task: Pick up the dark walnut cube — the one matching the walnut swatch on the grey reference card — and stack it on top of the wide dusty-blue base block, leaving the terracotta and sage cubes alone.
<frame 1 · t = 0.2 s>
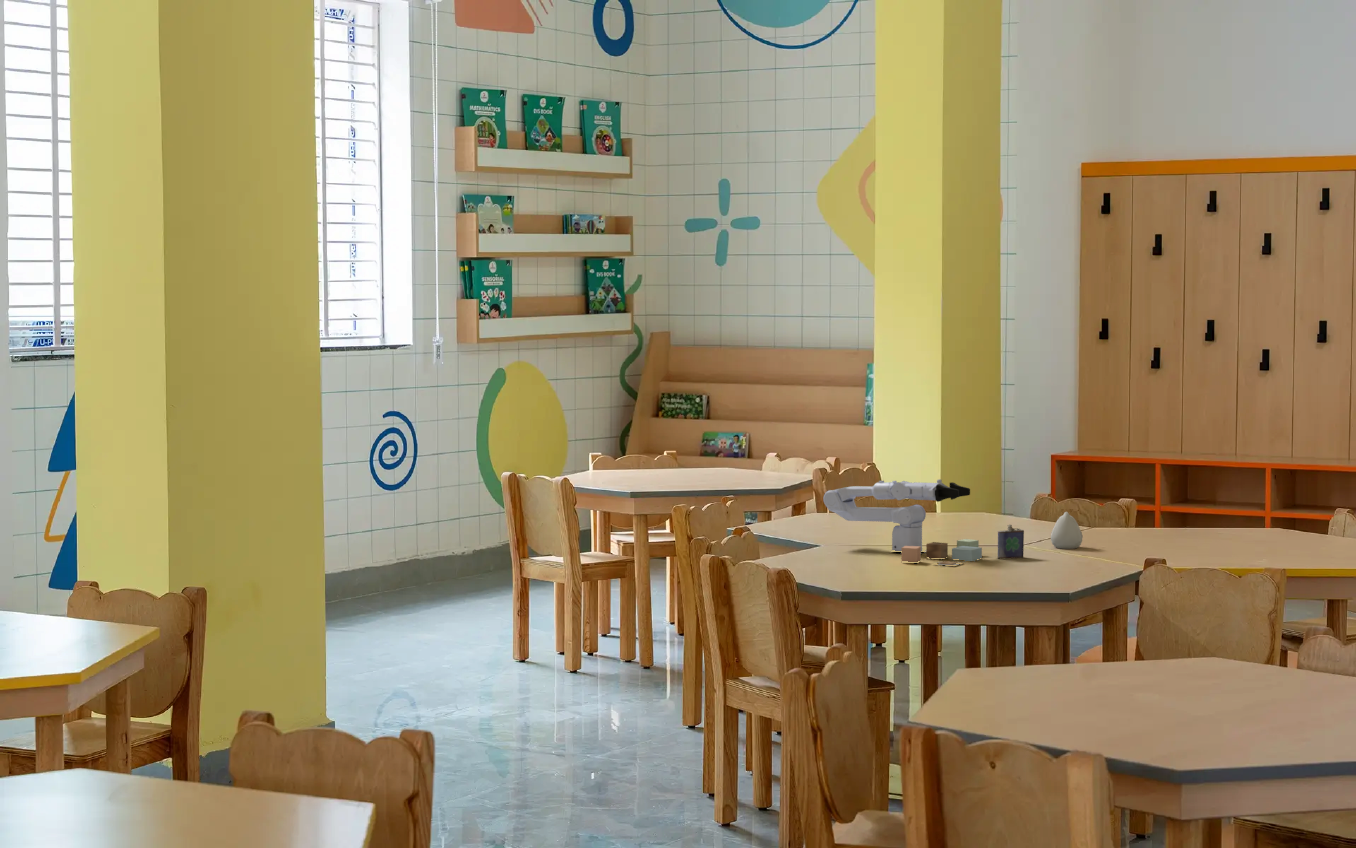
hand: (964, 492, 467), 21 cm above the table, tool horizontal, fingers open, 7 cm apart
walnut cube: (937, 558, 467), on the table
base block: (966, 560, 464), on the table
terracotta cube: (911, 562, 459), on the table
grey teardrop shape: (1066, 548, 488), on the table
sage cube: (967, 555, 473), on the table
reference card: (948, 564, 453), on the table
flask: (1010, 558, 466), on the table
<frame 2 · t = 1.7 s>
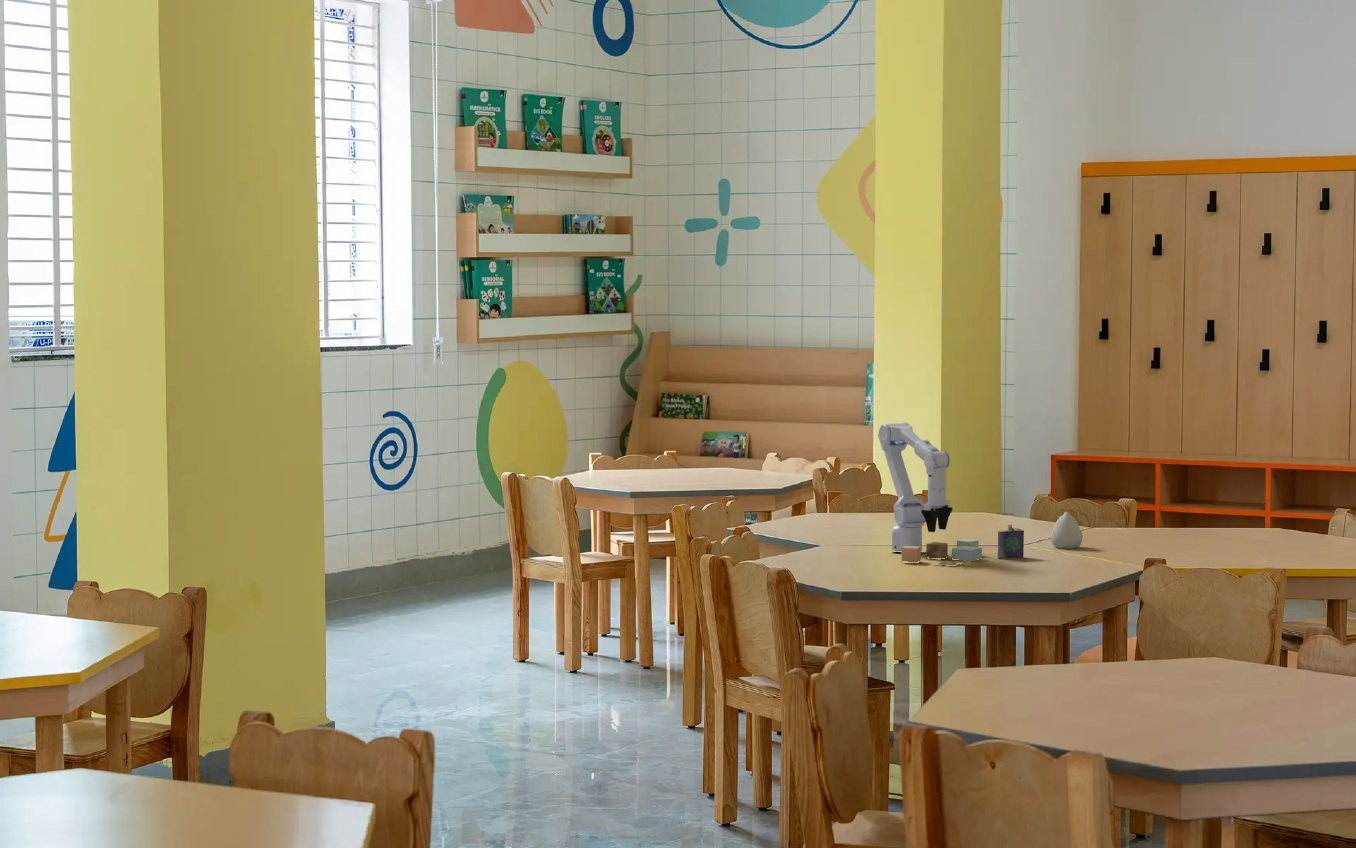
hand: (937, 530, 466), 9 cm above the table, tool pointing down, fingers open, 7 cm apart
nothing on the table moved.
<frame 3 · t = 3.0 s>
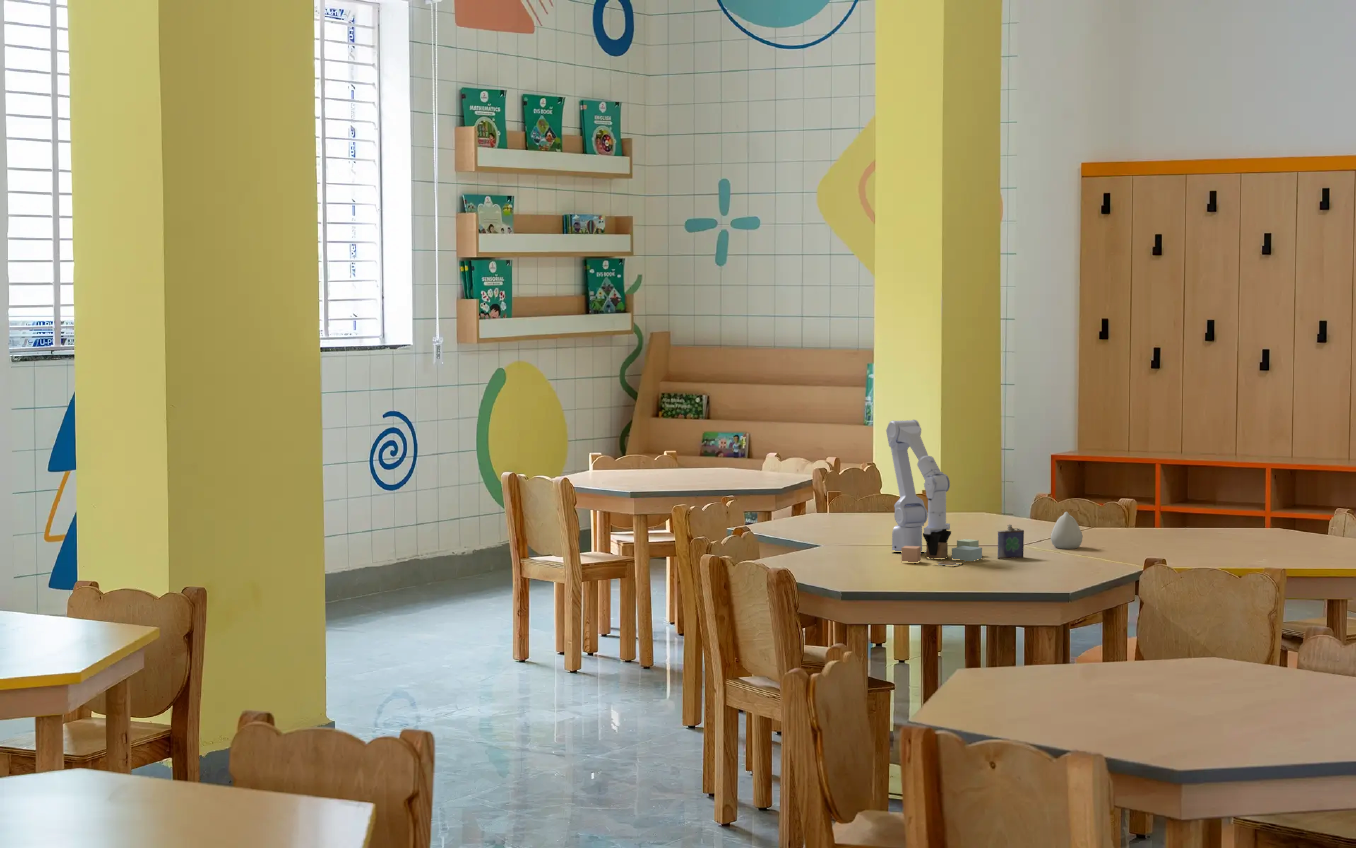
hand: (937, 554, 467), 1 cm above the table, tool pointing down, fingers closed on walnut cube, 5 cm apart
walnut cube: (937, 558, 467), on the table, touching gripper
everything else where it was.
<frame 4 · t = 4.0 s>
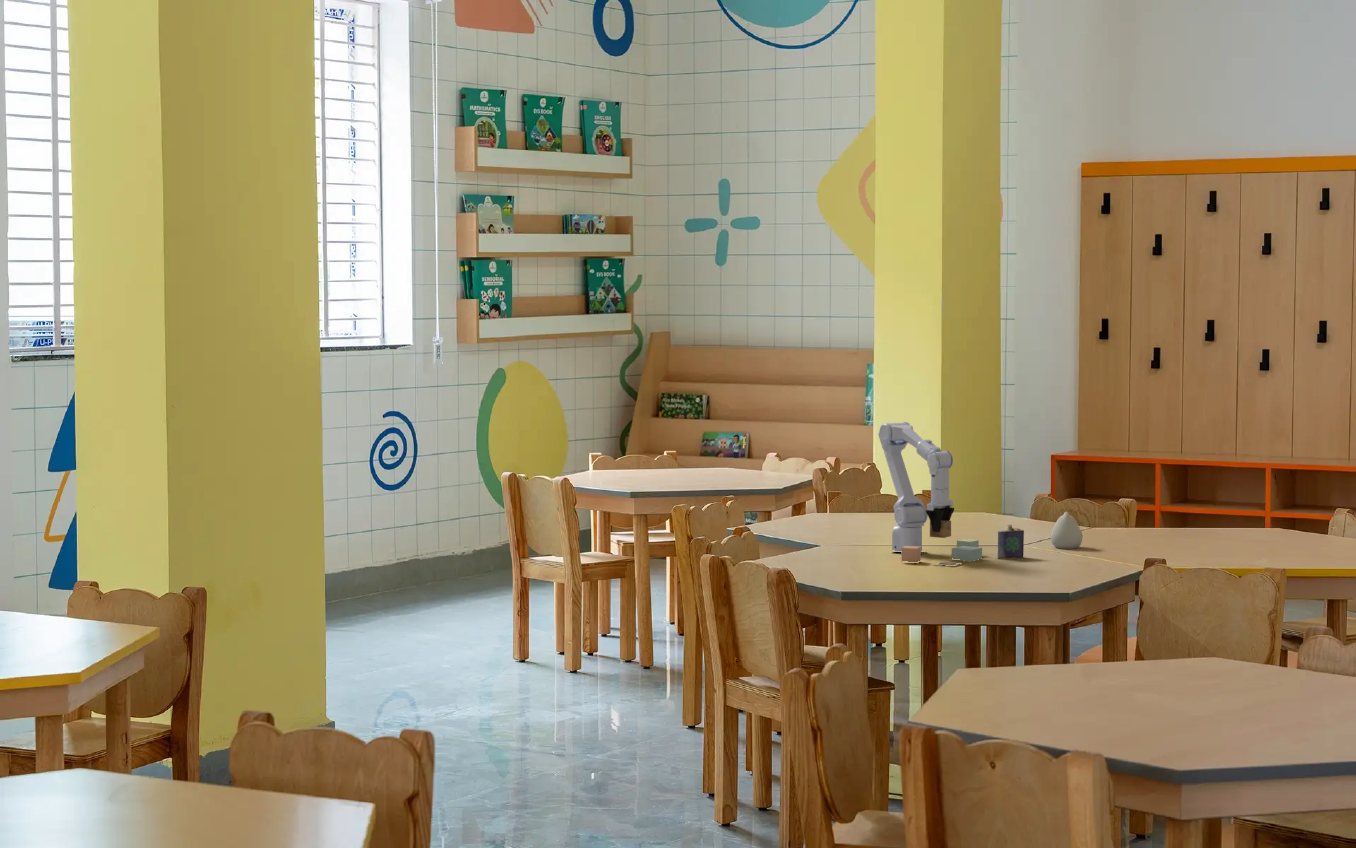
hand: (940, 530, 466), 9 cm above the table, tool pointing down, fingers closed on walnut cube, 5 cm apart
walnut cube: (940, 536, 466), point 7 cm above the table, touching gripper
everything else where it was.
when the fingers open (6 cm above the table, at t = 5.4 s): walnut cube stays where it is, resting on base block.
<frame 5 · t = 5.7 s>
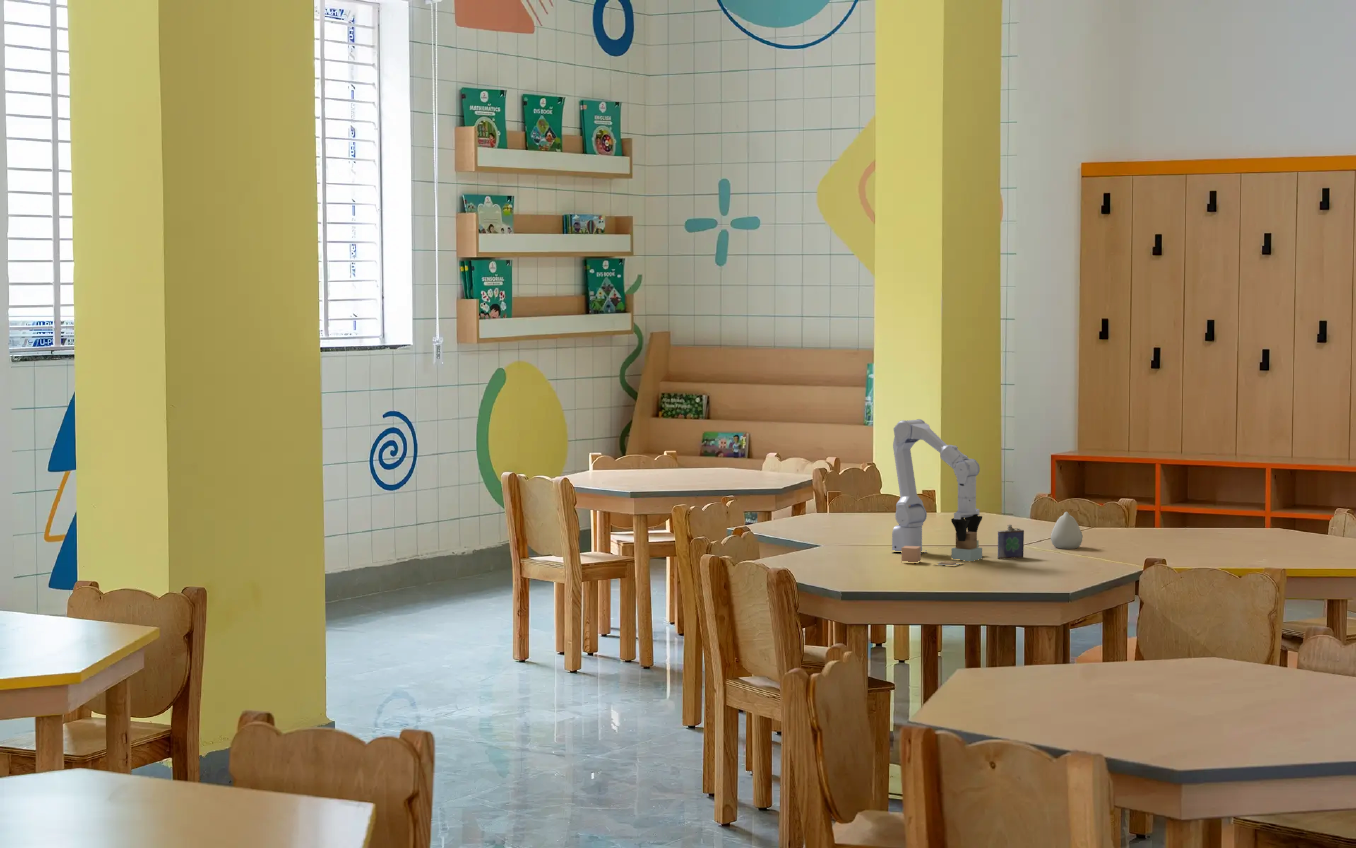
hand: (966, 539, 463), 6 cm above the table, tool pointing down, fingers open, 7 cm apart
walnut cube: (966, 548, 464), point 4 cm above the table, touching base block
base block: (966, 560, 464), on the table, touching walnut cube
everything else where it was.
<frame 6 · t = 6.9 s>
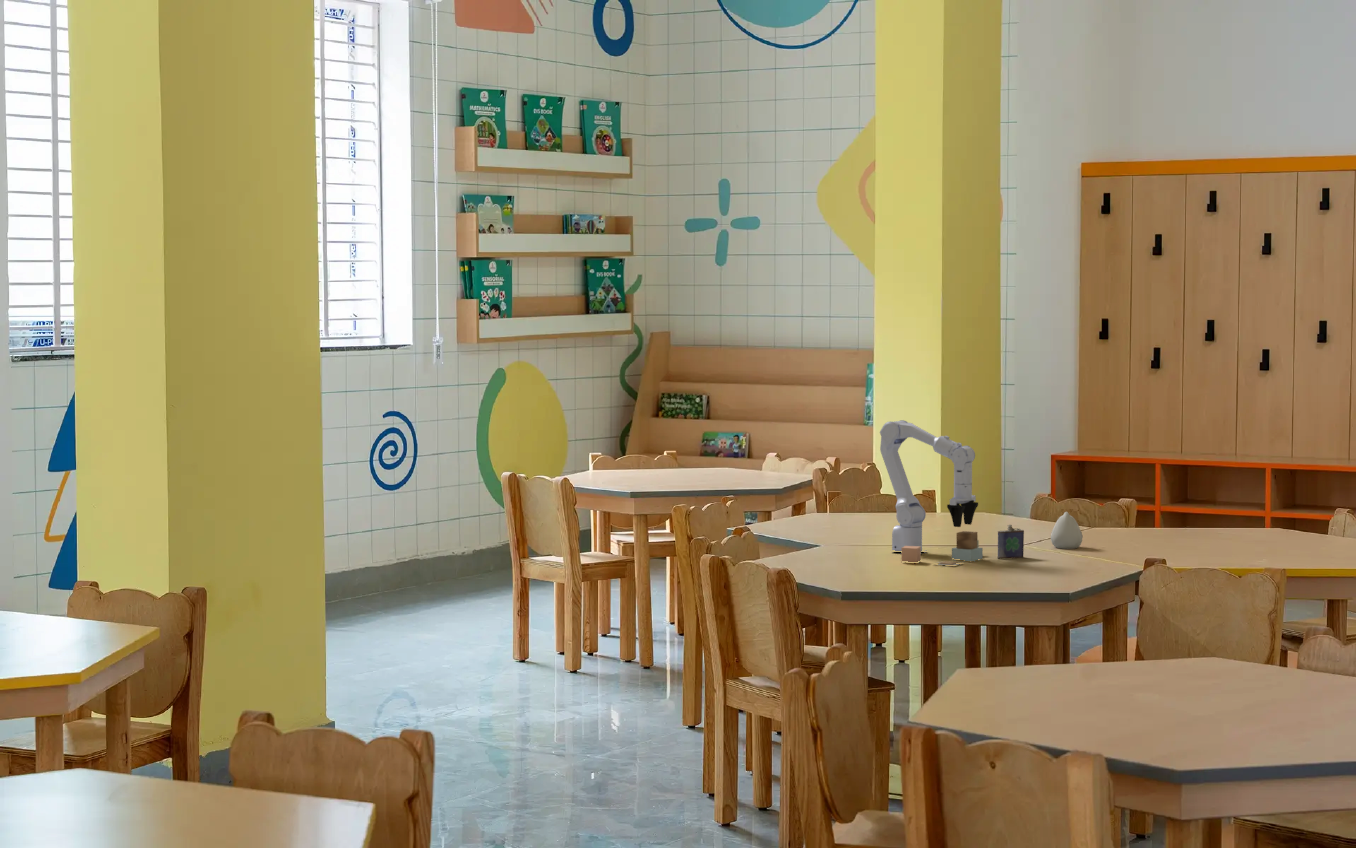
hand: (962, 525, 468), 10 cm above the table, tool pointing down, fingers open, 7 cm apart
nothing on the table moved.
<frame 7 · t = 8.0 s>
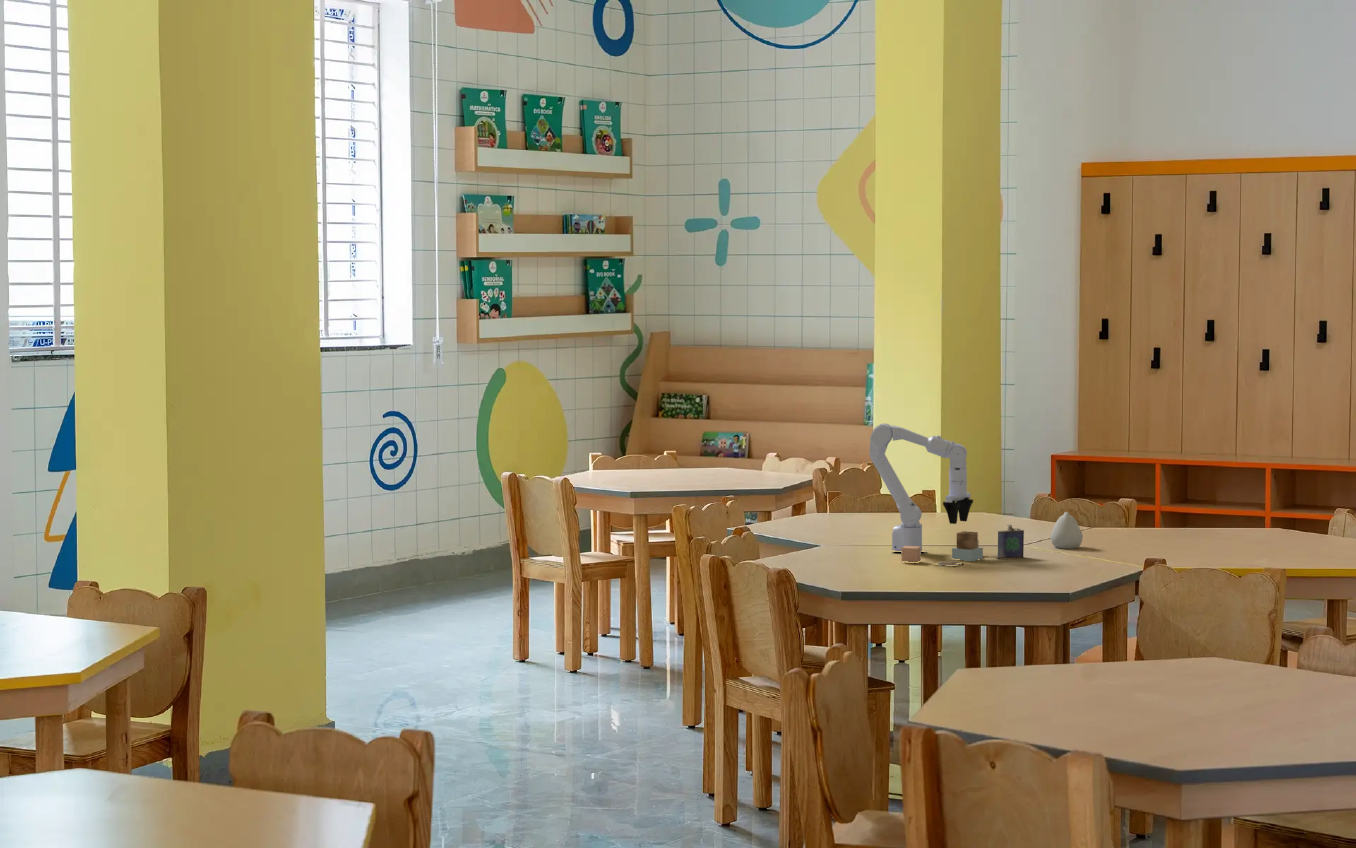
hand: (958, 522, 476), 10 cm above the table, tool pointing down, fingers open, 7 cm apart
nothing on the table moved.
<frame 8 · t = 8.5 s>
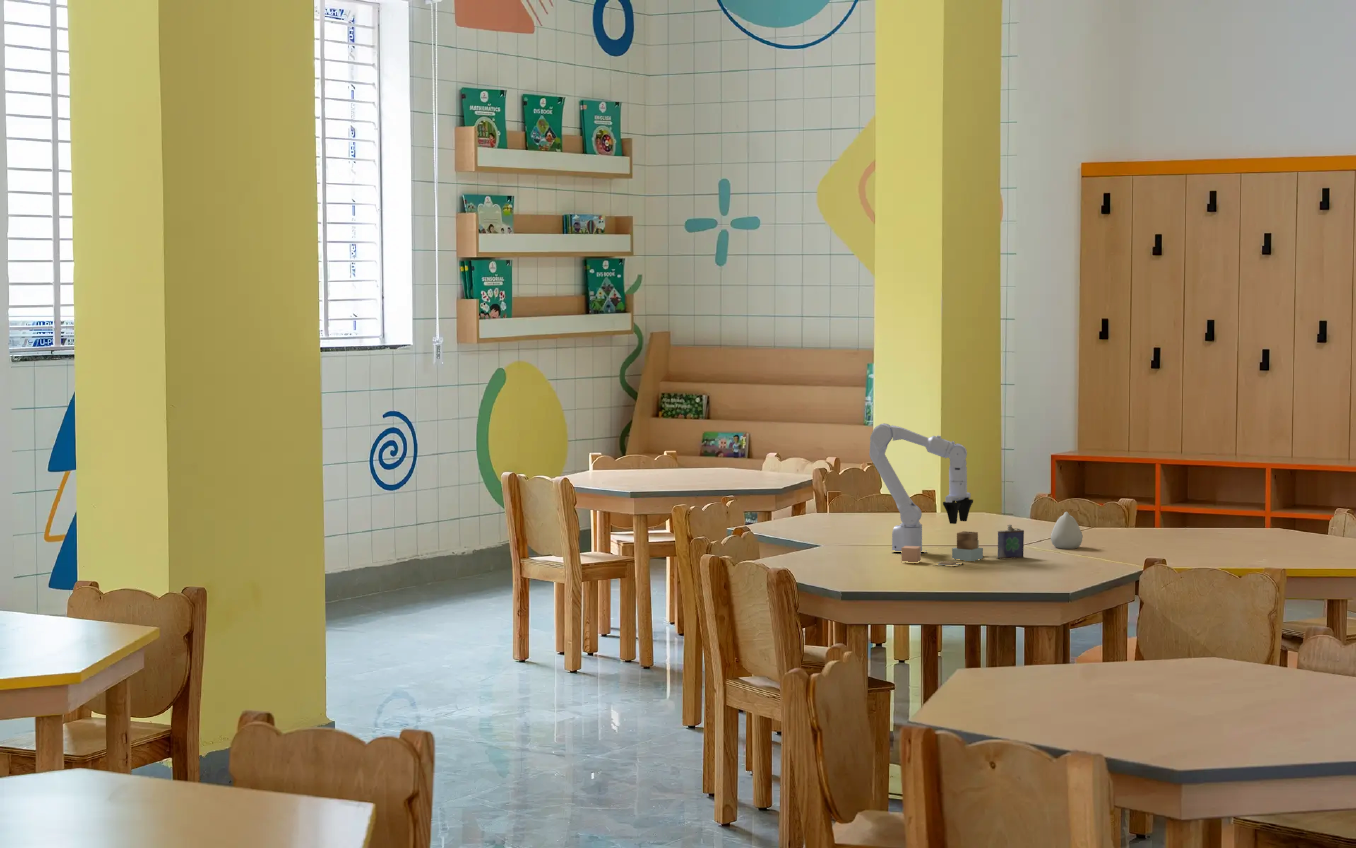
hand: (958, 522, 476), 10 cm above the table, tool pointing down, fingers open, 7 cm apart
nothing on the table moved.
at the end: walnut cube 0.1 cm off-centre on the base block, point 4.0 cm above the base block's base; walnut cube tilted 1°; the gripper is holding nothing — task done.
